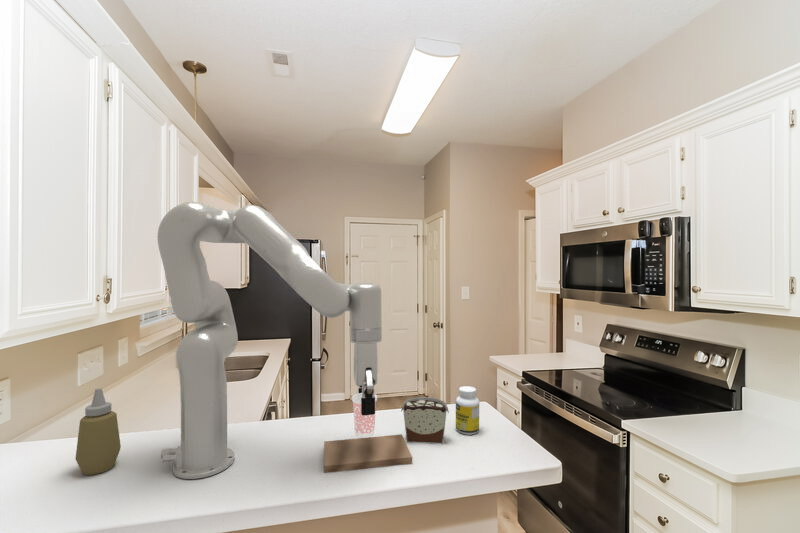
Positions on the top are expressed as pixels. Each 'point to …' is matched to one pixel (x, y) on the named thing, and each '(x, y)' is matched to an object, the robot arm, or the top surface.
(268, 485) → the top surface
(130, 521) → the top surface
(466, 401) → the pill bottle
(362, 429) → the beverage cup
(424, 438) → the food container
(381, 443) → the walnut board
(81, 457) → the squeeze bottle
